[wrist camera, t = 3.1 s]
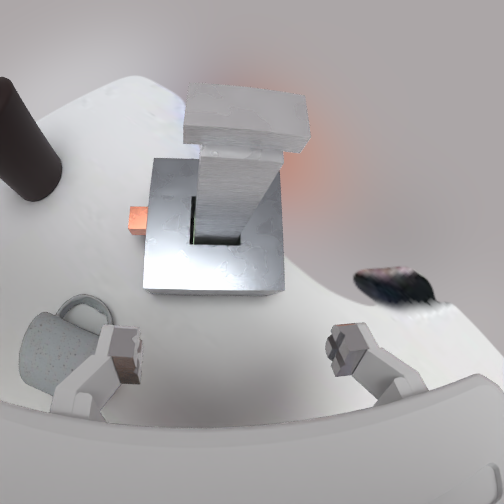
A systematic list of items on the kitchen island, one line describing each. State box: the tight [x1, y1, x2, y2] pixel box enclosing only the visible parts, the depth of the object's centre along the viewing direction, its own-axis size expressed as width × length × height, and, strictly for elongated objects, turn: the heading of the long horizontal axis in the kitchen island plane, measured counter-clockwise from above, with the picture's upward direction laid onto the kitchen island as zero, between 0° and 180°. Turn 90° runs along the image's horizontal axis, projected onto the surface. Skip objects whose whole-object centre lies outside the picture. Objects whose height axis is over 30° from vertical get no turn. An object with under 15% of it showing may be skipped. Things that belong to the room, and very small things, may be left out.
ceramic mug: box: [19, 294, 113, 396], centre depth 23 cm, size 11×8×8 cm
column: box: [183, 83, 311, 246], centre depth 22 cm, size 5×4×21 cm
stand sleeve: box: [128, 158, 285, 296], centre depth 29 cm, size 14×12×6 cm
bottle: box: [0, 77, 62, 201], centre depth 20 cm, size 7×7×20 cm
